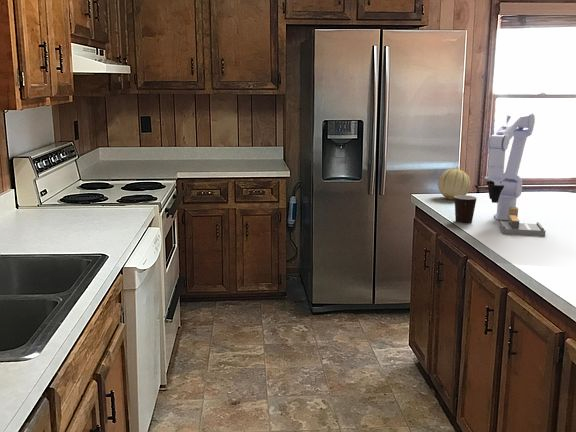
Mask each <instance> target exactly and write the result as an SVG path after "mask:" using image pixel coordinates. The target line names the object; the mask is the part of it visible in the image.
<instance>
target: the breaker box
mask: <svg viewBox="0 0 576 432" xmlns="http://www.w3.org/2000/svg"><path fill="white" fill-rule="evenodd" d="M498 228H499V230H500V233H501V234H502V235H511V236H512V235H514V236H517V235H518V236H530V237H531V236H533V237H534V236H535V237H546V231H547V230H545V228H544V227H543V226H542V224H541V223H540V222H539V221H538V222H536V223H524V222H523V223H522V222H521V223H520V222H519V228H512V227H511V226H510V224H509V223H508V222H505V221H504V220H499V223H498Z"/></svg>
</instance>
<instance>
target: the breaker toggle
mask: <svg viewBox="0 0 576 432" xmlns="http://www.w3.org/2000/svg"><path fill="white" fill-rule="evenodd" d="M519 223H520V219H519V217H517V216H516V215H509V224H510V226H511V227H512V228H519Z"/></svg>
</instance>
